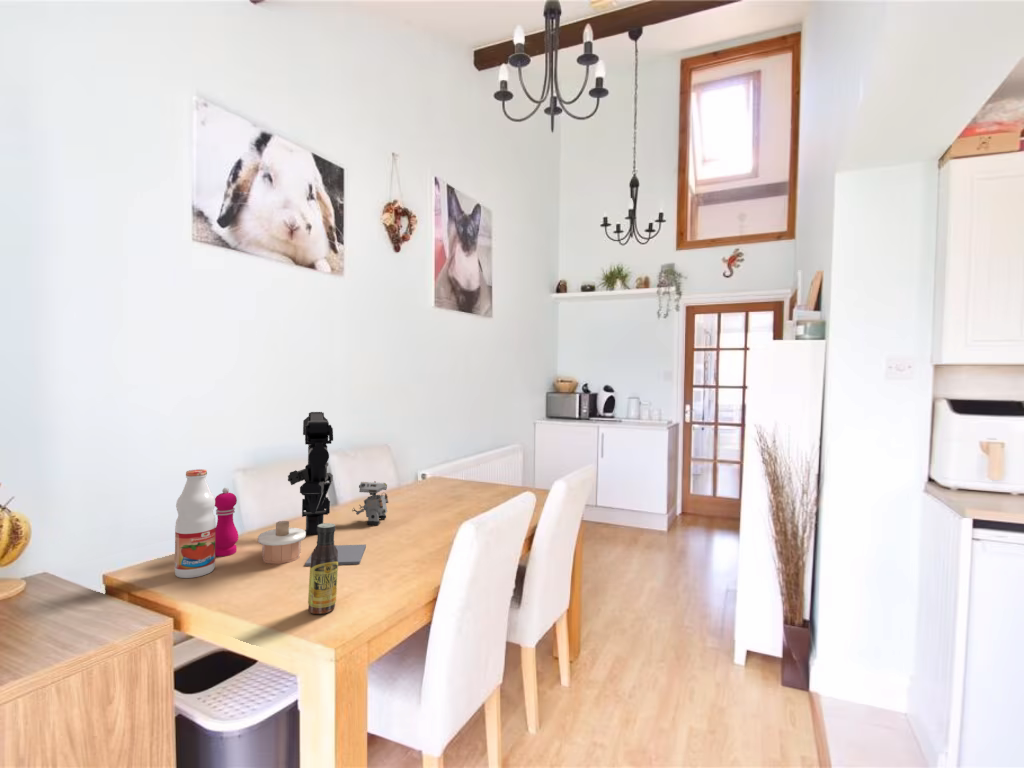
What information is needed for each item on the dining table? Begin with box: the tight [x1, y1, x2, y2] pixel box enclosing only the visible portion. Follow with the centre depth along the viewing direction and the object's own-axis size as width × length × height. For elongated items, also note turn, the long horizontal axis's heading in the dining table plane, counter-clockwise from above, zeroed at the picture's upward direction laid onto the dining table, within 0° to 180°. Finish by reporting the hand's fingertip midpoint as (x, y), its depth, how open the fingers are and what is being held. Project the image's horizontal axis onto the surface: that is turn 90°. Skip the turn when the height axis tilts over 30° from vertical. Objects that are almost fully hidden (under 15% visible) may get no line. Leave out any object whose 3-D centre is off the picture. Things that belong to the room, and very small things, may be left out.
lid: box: [257, 520, 307, 546], centre depth 151 cm, size 13×13×5 cm
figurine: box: [351, 480, 389, 526], centre depth 190 cm, size 9×12×15 cm
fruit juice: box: [174, 468, 217, 579], centre depth 139 cm, size 9×9×28 cm
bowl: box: [261, 540, 302, 565], centre depth 151 cm, size 10×10×6 cm
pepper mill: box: [214, 487, 239, 557], centre depth 154 cm, size 7×7×20 cm
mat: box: [305, 544, 367, 567], centre depth 154 cm, size 15×15×1 cm
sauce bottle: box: [307, 522, 339, 615], centre depth 119 cm, size 6×6×20 cm
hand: (316, 509), depth 161 cm, fingers open, 9 cm apart
